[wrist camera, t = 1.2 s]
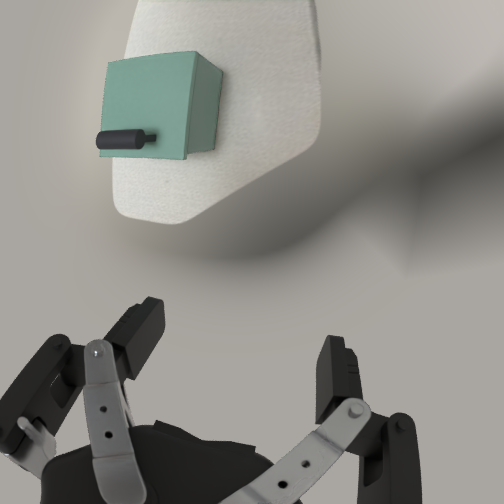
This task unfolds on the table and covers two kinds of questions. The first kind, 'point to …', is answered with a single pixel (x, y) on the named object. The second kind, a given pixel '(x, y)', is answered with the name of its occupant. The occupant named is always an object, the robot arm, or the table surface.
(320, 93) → the table surface
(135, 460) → the robot arm
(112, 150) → the green square slab
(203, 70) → the green storage box
